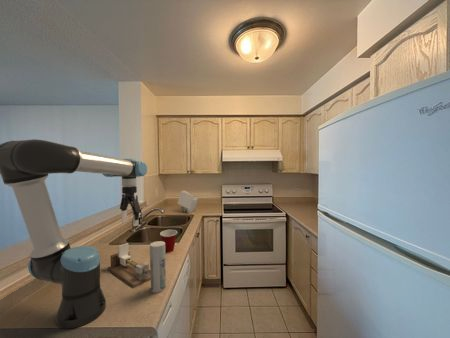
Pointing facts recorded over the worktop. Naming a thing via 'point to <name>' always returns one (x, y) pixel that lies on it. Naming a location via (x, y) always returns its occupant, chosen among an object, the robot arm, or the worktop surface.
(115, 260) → the board
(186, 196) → the tissue box
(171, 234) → the plastic cup
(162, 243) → the spray can
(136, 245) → the worktop surface
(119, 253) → the white l-shaped block
